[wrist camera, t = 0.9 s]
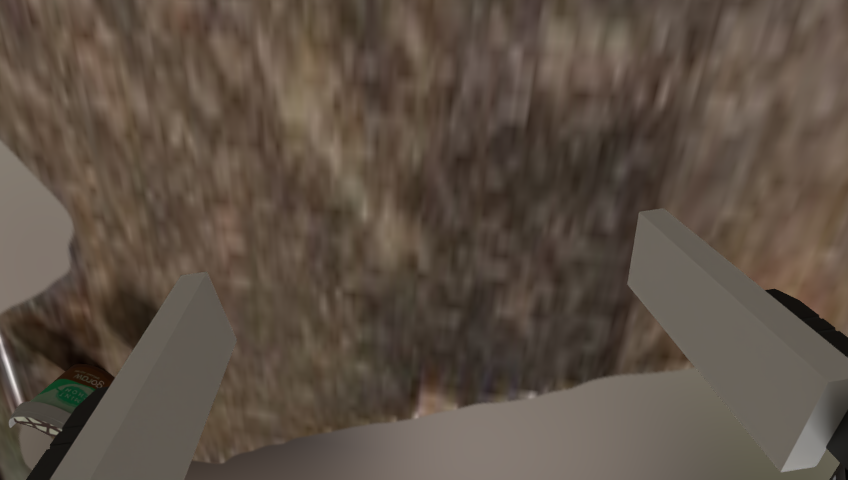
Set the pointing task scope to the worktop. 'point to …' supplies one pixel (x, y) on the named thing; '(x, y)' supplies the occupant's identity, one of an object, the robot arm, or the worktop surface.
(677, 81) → the worktop surface
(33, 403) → the food container
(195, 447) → the robot arm
